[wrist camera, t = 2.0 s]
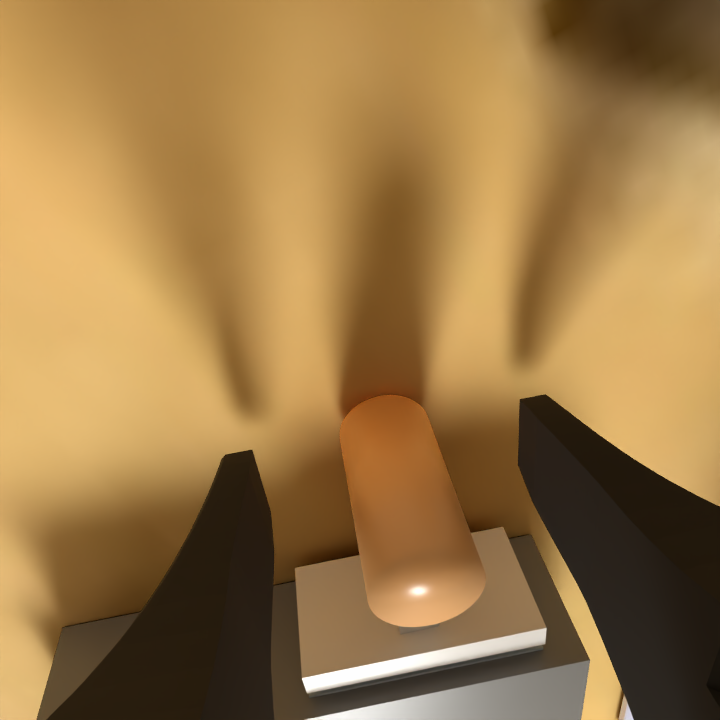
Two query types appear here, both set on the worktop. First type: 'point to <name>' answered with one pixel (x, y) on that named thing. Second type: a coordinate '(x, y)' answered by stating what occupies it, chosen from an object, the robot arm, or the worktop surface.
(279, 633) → the camera body
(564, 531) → the robot arm
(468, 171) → the worktop surface
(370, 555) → the capsule on stand
